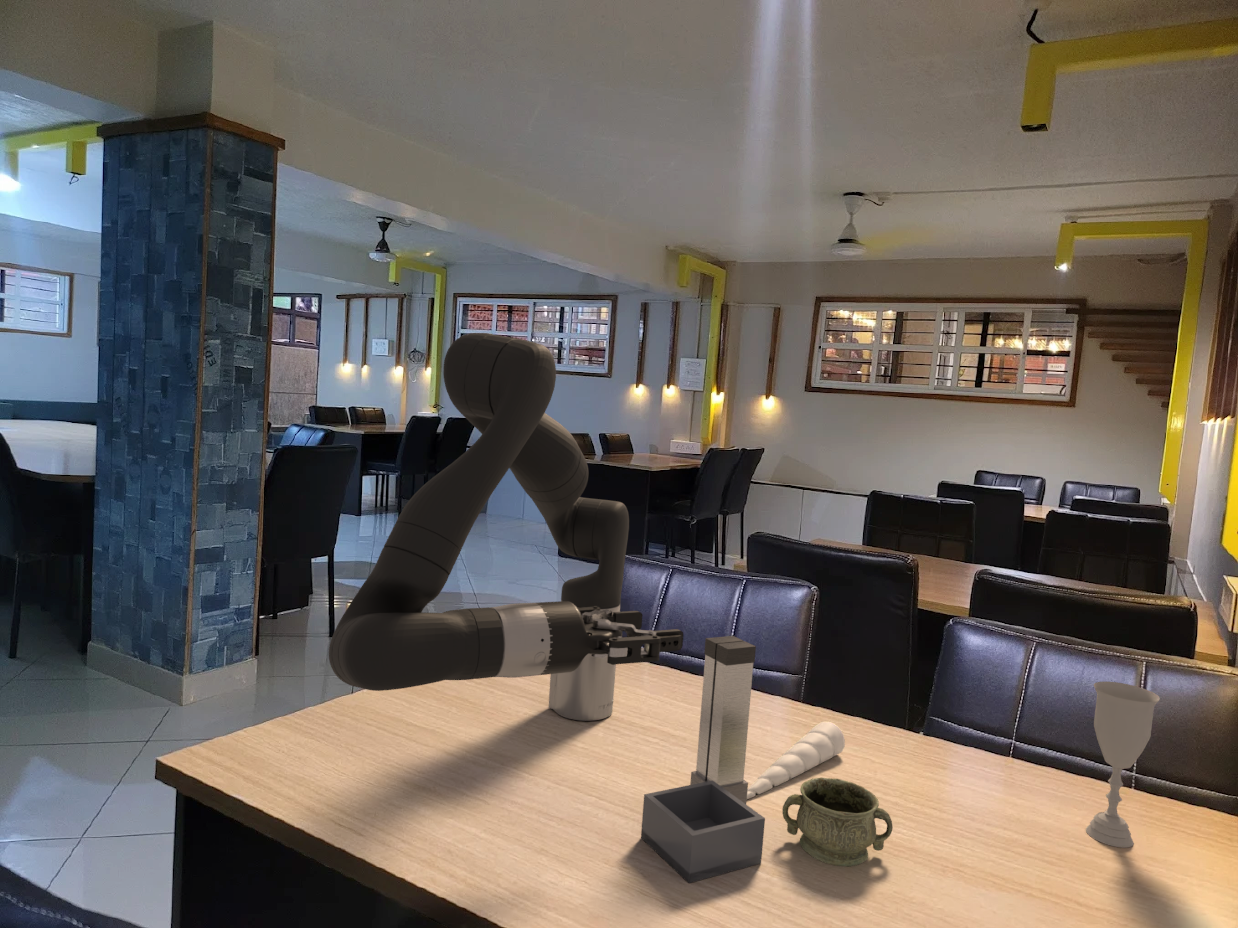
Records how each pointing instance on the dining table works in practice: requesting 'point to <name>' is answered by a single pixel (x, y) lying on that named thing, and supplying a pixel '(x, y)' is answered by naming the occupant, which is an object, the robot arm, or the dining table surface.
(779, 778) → the unicorn horn
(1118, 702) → the chalice
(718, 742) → the split metal pillar
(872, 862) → the dining table surface
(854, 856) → the vessel
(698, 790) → the grey open storage bin
